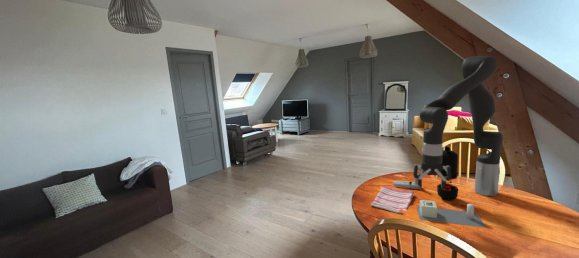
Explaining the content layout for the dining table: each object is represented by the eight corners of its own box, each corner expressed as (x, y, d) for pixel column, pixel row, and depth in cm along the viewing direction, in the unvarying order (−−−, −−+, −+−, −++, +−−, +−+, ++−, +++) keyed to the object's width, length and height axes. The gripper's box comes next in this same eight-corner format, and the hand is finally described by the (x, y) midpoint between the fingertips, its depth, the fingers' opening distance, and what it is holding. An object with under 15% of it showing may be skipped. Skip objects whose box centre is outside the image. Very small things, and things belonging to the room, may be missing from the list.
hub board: (419, 222, 104) (420, 206, 103) (416, 209, 115) (416, 194, 114) (486, 230, 95) (487, 213, 94) (475, 215, 106) (476, 199, 105)
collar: (421, 216, 106) (421, 206, 105) (419, 209, 112) (419, 199, 111) (436, 218, 104) (437, 207, 103) (434, 211, 110) (434, 201, 109)
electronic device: (393, 169, 144) (421, 170, 137) (393, 184, 146) (421, 186, 139) (392, 172, 139) (421, 174, 132) (393, 187, 141) (421, 190, 134)
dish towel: (414, 195, 129) (414, 190, 128) (406, 216, 111) (406, 209, 110) (382, 189, 139) (382, 184, 138) (370, 207, 121) (370, 201, 120)
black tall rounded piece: (456, 208, 113) (459, 148, 108) (434, 203, 119) (436, 146, 114) (459, 197, 123) (462, 141, 118) (439, 192, 129) (441, 139, 124)
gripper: (414, 154, 102) (414, 189, 105) (454, 155, 96) (452, 192, 99) (413, 149, 109) (412, 182, 112) (449, 150, 103) (447, 185, 106)
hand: (431, 187), depth 105 cm, fingers open, 8 cm apart
